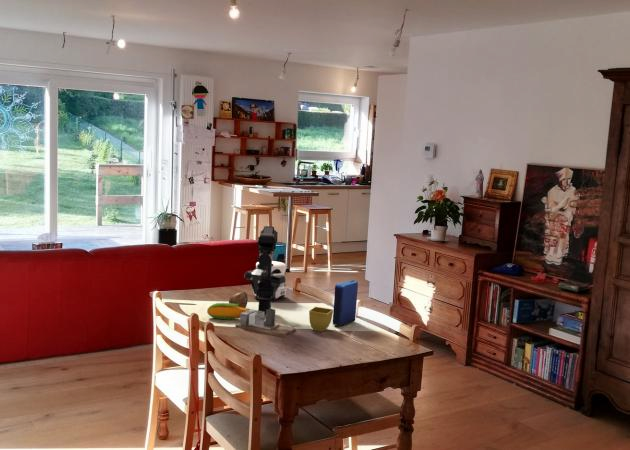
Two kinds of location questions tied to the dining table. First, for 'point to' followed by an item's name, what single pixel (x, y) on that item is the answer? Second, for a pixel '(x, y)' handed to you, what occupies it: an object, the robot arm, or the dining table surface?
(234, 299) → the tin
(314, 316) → the flower pot
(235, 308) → the corn
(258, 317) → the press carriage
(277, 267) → the milk container
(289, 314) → the dining table surface
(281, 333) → the press base
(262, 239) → the robot arm
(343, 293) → the book
